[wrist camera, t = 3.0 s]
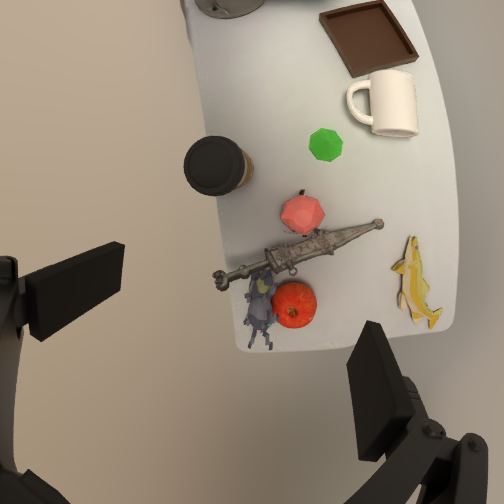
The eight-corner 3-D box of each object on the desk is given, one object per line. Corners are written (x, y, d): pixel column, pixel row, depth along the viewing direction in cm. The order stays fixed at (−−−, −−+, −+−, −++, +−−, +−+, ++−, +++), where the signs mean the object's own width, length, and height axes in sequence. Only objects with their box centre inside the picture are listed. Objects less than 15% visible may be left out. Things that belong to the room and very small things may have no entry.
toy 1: (254, 270, 59) (254, 347, 55) (235, 268, 58) (234, 347, 54) (290, 250, 46) (292, 350, 42) (267, 247, 45) (267, 351, 41)
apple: (323, 287, 54) (325, 304, 46) (304, 323, 56) (303, 344, 49) (283, 269, 54) (279, 284, 47) (266, 306, 57) (259, 326, 49)
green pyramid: (319, 121, 48) (321, 114, 42) (349, 140, 47) (354, 135, 42) (301, 149, 49) (301, 145, 44) (331, 168, 49) (335, 167, 43)
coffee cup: (268, 177, 51) (253, 176, 37) (228, 201, 54) (199, 209, 39) (244, 137, 50) (221, 121, 36) (205, 161, 53) (169, 156, 38)
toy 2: (399, 338, 53) (439, 320, 53) (406, 345, 50) (447, 327, 50) (385, 242, 50) (430, 227, 49) (393, 245, 47) (439, 230, 46)
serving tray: (318, 20, 43) (319, 13, 40) (380, 5, 39) (382, -1, 37) (352, 78, 45) (354, 73, 42) (414, 61, 41) (419, 56, 39)
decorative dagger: (370, 215, 53) (210, 268, 49) (372, 205, 51) (206, 258, 47) (393, 242, 48) (221, 304, 44) (396, 231, 46) (218, 294, 42)
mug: (406, 86, 43) (420, 73, 35) (410, 138, 45) (426, 132, 38) (342, 80, 45) (347, 64, 37) (344, 133, 47) (351, 125, 40)
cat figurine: (284, 230, 53) (278, 244, 41) (280, 190, 51) (273, 193, 40) (325, 227, 51) (330, 240, 40) (322, 187, 50) (326, 189, 39)
